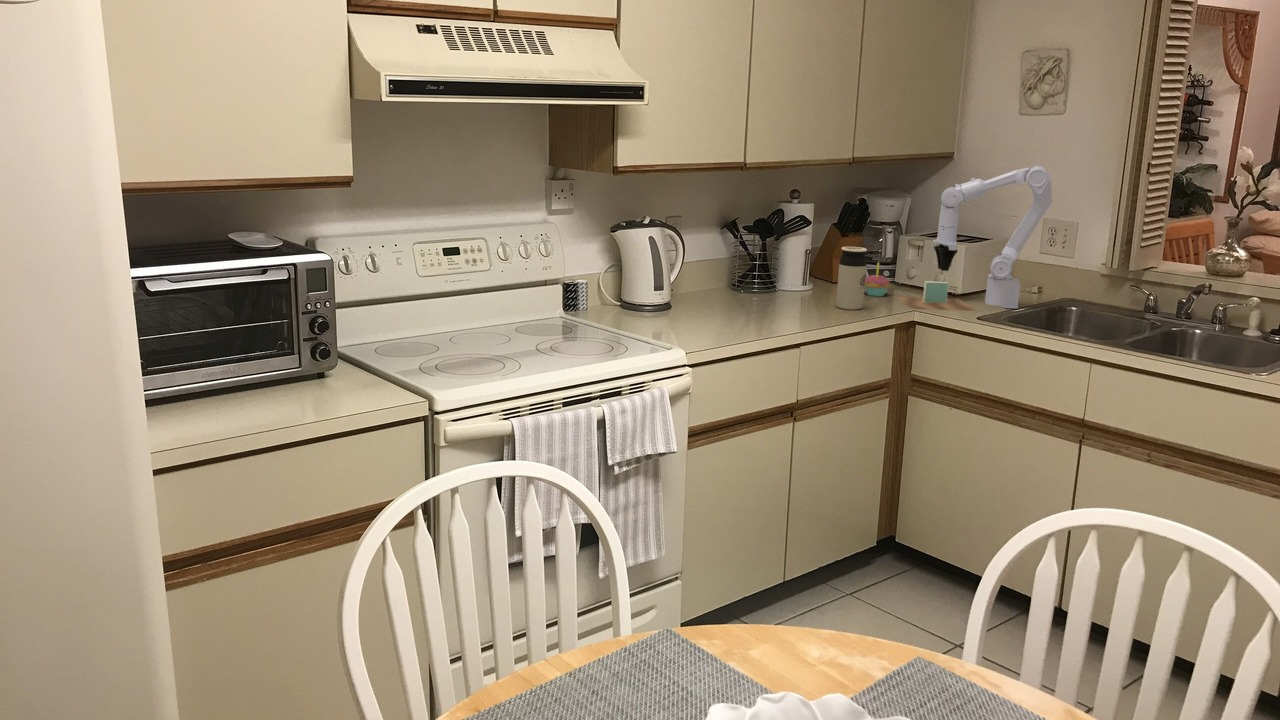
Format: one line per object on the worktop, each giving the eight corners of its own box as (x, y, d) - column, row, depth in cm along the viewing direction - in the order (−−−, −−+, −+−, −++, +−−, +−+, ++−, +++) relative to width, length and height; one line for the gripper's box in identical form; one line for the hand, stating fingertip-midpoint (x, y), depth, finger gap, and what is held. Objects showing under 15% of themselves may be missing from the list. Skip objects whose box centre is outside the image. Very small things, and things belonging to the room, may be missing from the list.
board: (958, 301, 322) (958, 298, 322) (977, 313, 305) (977, 310, 304) (895, 299, 322) (896, 296, 321) (910, 311, 304) (911, 308, 304)
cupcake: (889, 300, 320) (893, 262, 317) (862, 298, 321) (865, 261, 318) (887, 295, 328) (891, 258, 325) (860, 293, 329) (864, 256, 326)
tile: (944, 302, 315) (947, 281, 313) (946, 303, 314) (948, 282, 312) (922, 301, 315) (924, 281, 313) (923, 302, 313) (926, 282, 312)
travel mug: (830, 306, 307) (835, 247, 303) (846, 303, 312) (851, 245, 308) (851, 311, 301) (856, 251, 297) (867, 308, 307) (873, 249, 302)
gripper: (928, 223, 323) (924, 265, 326) (942, 229, 309) (937, 273, 312) (950, 223, 323) (946, 266, 326) (965, 230, 309) (960, 274, 312)
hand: (943, 269), depth 319 cm, fingers closed
